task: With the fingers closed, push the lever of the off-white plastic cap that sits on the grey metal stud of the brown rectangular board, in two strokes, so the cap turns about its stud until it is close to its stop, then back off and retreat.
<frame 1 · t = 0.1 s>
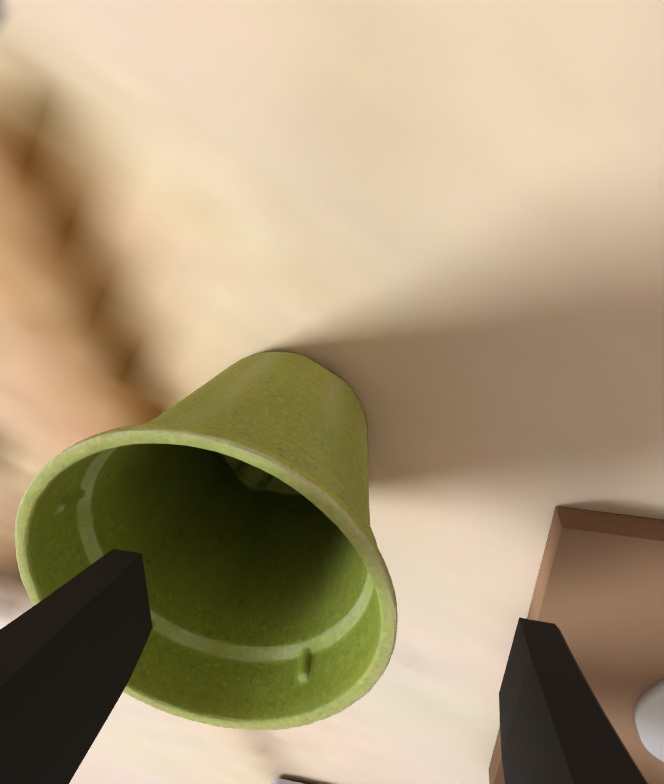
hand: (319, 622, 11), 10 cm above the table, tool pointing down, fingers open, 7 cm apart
plant pot: (289, 424, 21), on the table
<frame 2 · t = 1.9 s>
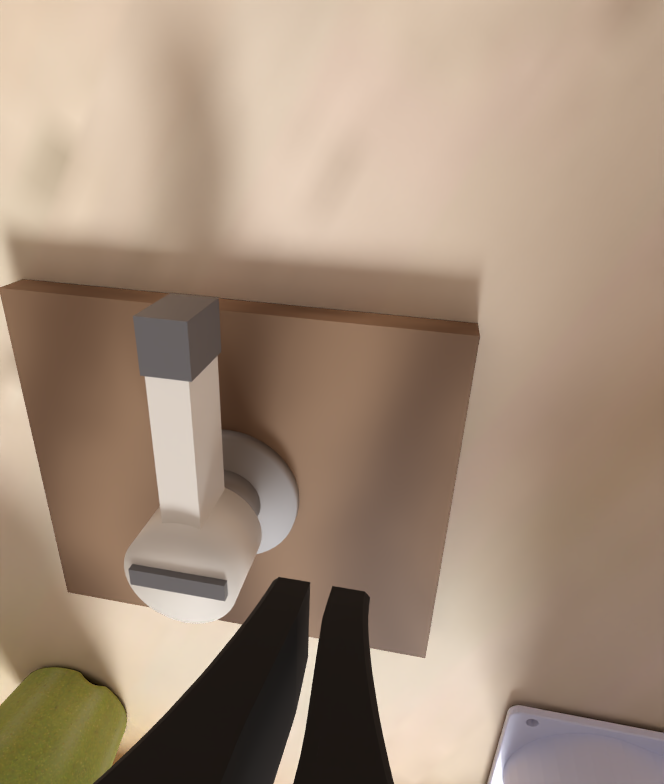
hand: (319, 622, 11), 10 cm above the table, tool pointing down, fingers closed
plant pot: (80, 698, 31), on the table
cap: (187, 471, 16), point 5 cm above the table, hinge at 0.0°
brown rectangular board: (242, 472, 22), on the table
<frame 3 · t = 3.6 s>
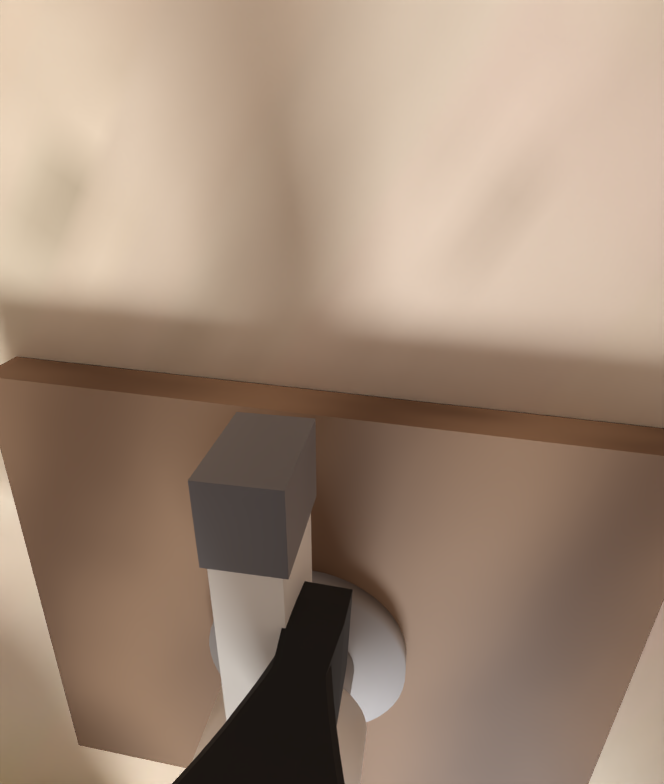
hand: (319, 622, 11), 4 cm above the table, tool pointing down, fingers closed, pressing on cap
cap: (268, 678, 10), point 5 cm above the table, hinge at 2.2°, touching gripper
brown rectangular board: (318, 608, 16), on the table
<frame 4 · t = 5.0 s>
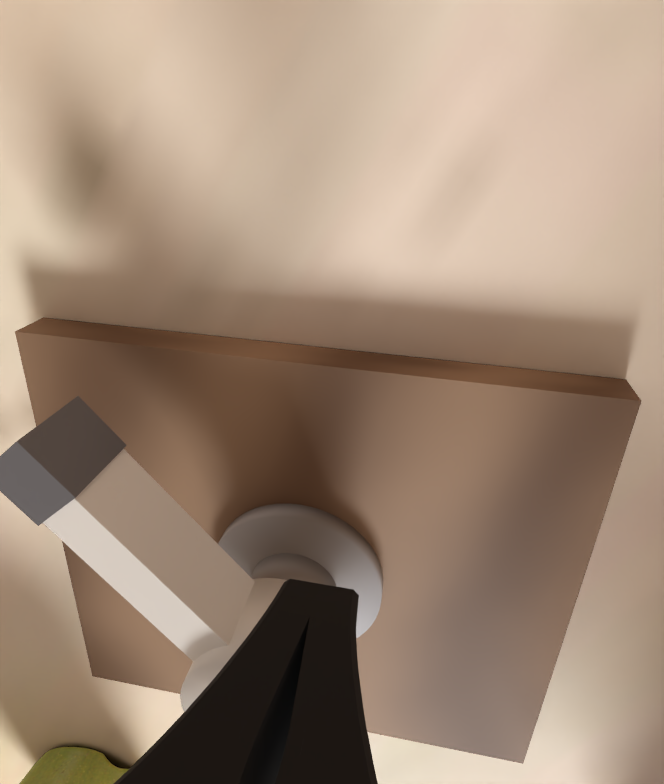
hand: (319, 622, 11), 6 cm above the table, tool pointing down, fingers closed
plant pot: (101, 778, 27), on the table
cap: (180, 589, 13), point 5 cm above the table, hinge at 41.7°
brown rectangular board: (307, 546, 18), on the table
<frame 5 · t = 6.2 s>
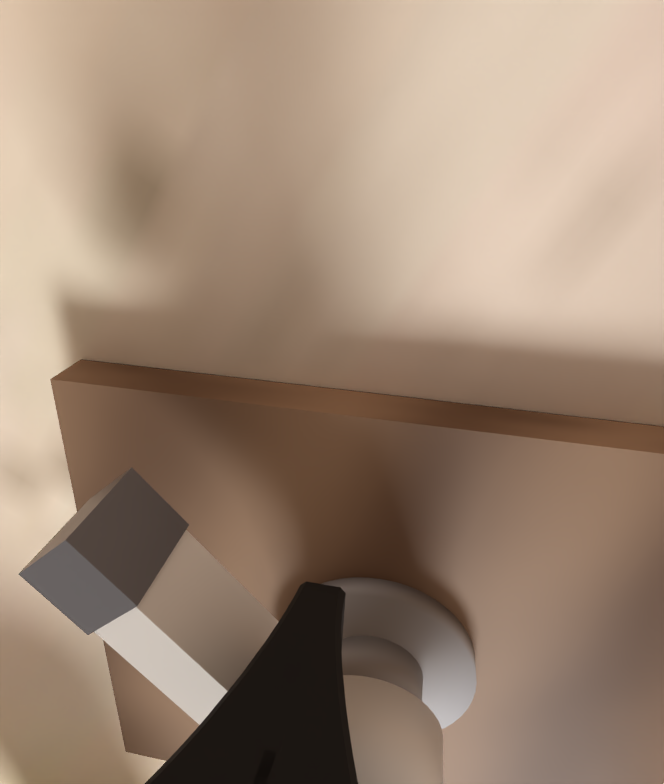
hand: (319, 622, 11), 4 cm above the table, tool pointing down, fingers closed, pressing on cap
cap: (256, 700, 11), point 5 cm above the table, hinge at 42.0°, touching gripper
brown rectangular board: (378, 616, 16), on the table
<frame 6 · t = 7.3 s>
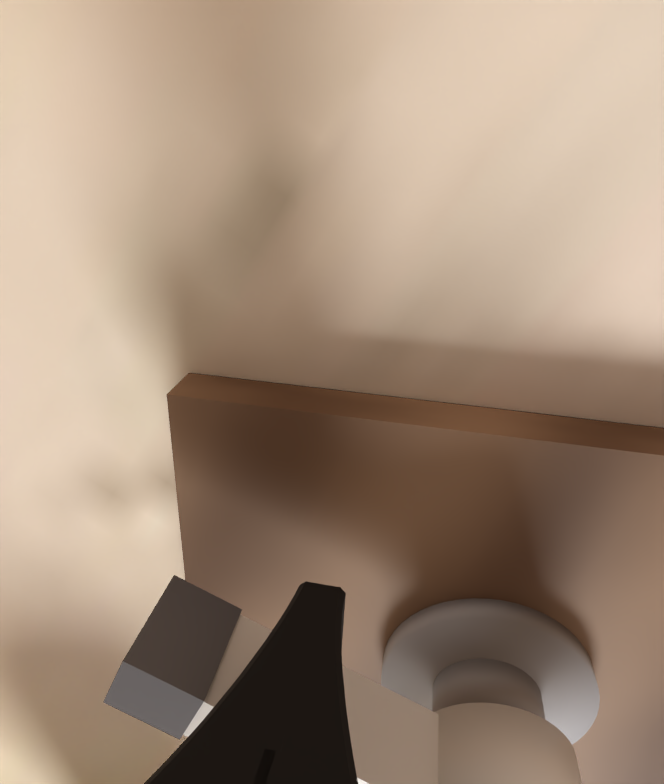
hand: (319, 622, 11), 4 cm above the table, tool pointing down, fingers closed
cap: (358, 757, 11), point 5 cm above the table, hinge at 66.1°, touching gripper
brown rectangular board: (481, 636, 15), on the table
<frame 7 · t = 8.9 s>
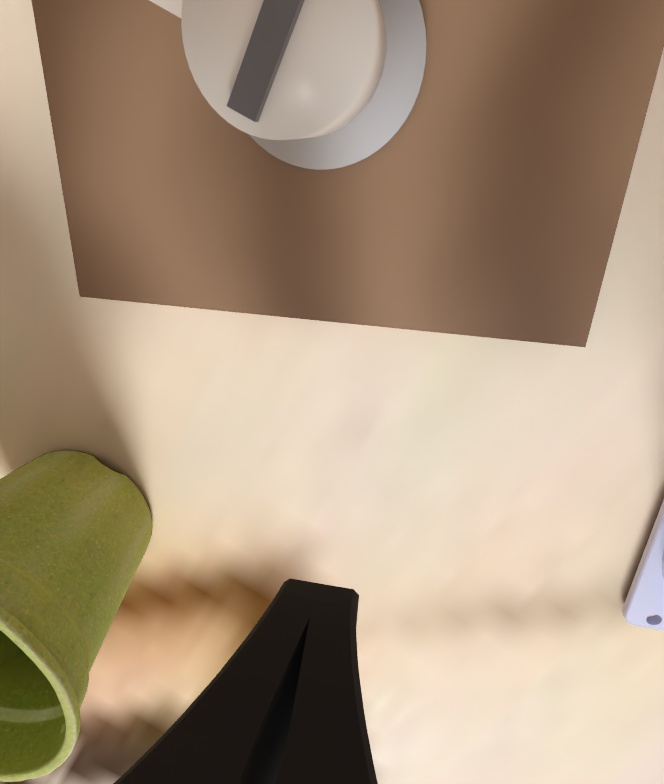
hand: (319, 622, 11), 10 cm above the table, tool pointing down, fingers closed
plant pot: (93, 504, 24), on the table
brown rectangular board: (332, 63, 15), on the table
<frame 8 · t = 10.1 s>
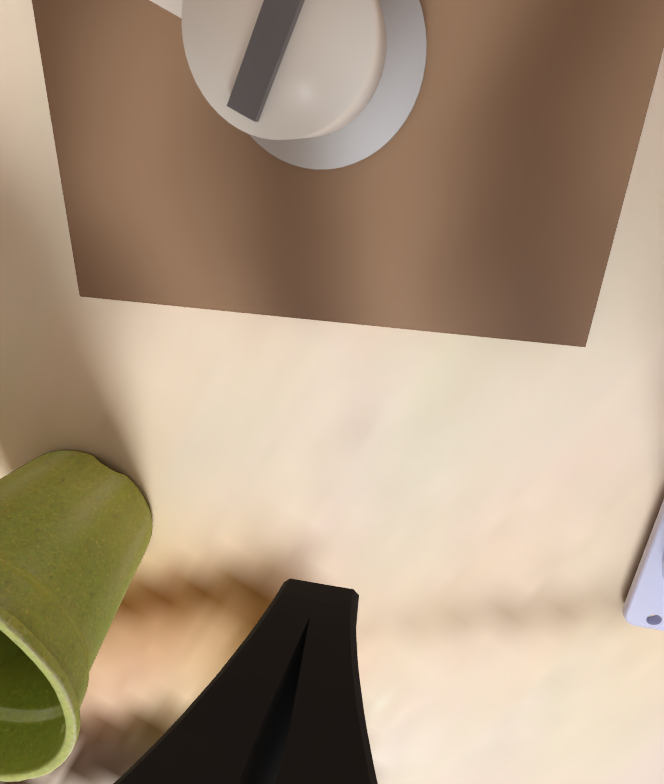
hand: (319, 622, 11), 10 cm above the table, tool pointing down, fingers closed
plant pot: (93, 504, 24), on the table
brown rectangular board: (332, 63, 15), on the table
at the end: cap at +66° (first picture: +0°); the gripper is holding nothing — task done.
